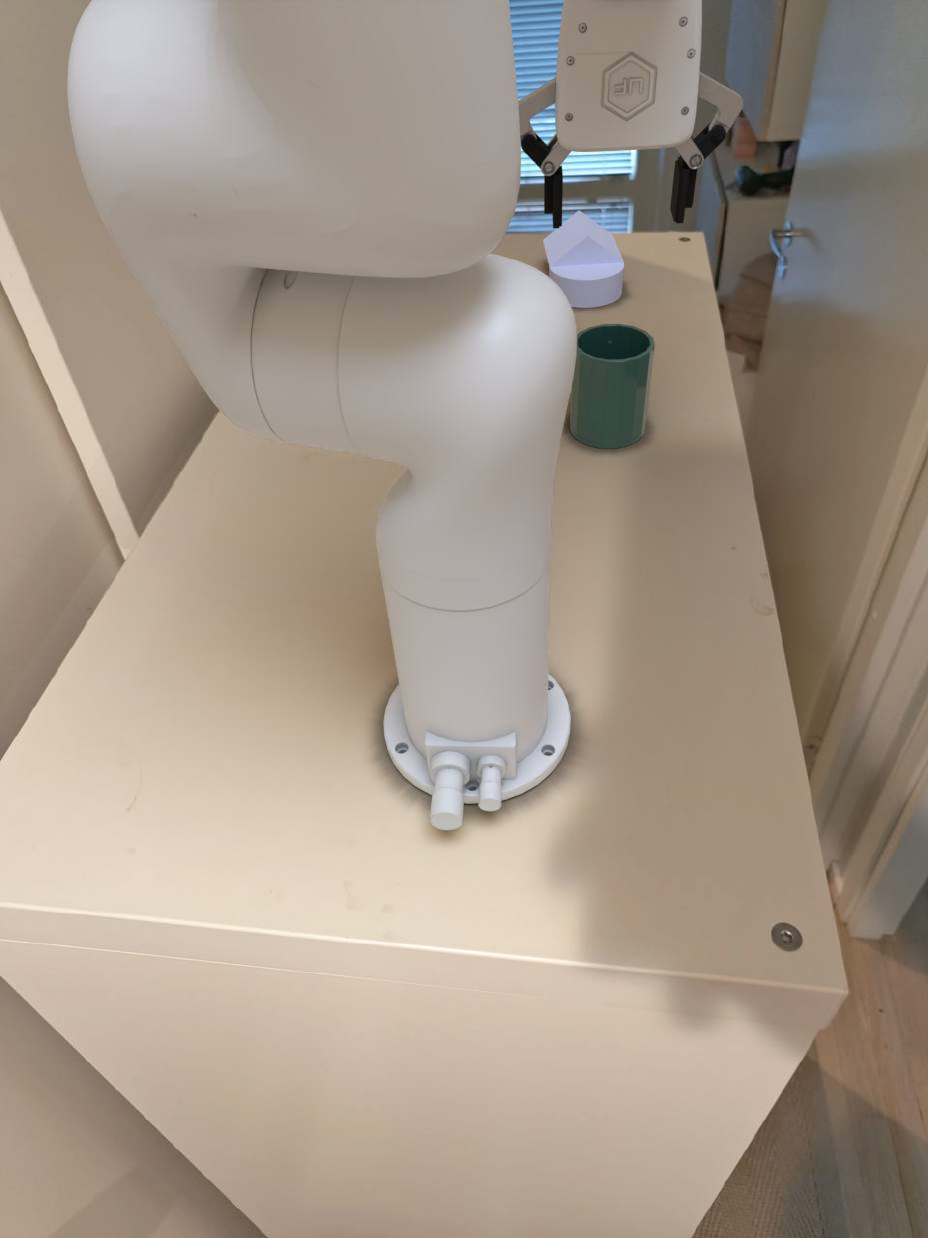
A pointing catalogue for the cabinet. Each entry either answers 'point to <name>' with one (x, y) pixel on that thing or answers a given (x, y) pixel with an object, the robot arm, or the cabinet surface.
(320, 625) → the cabinet surface
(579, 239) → the wedge on round base
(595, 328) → the mug
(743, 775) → the cabinet surface
